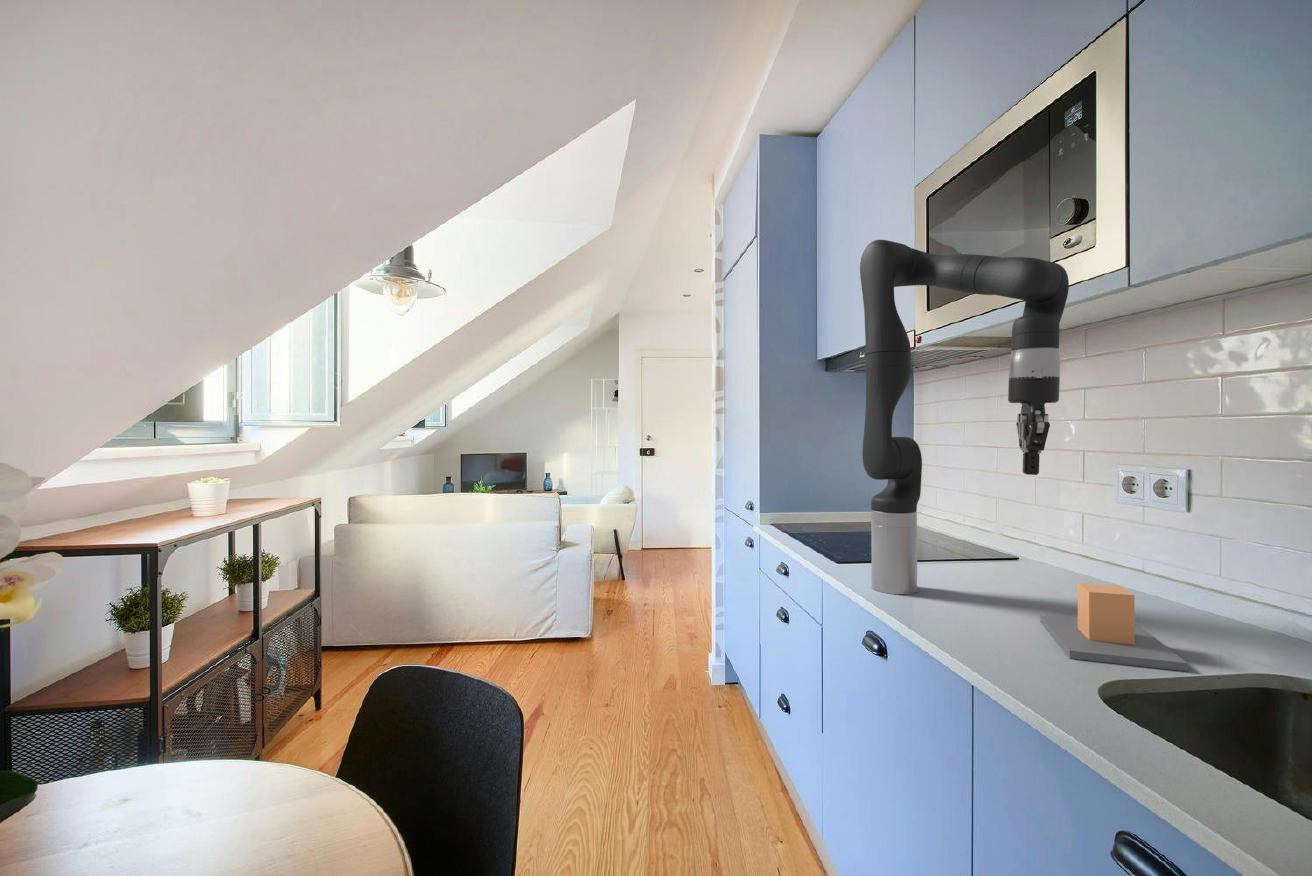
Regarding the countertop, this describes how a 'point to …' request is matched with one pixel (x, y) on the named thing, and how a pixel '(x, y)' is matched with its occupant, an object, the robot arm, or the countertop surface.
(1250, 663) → the countertop surface
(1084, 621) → the peach foam cube
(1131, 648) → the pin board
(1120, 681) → the countertop surface
